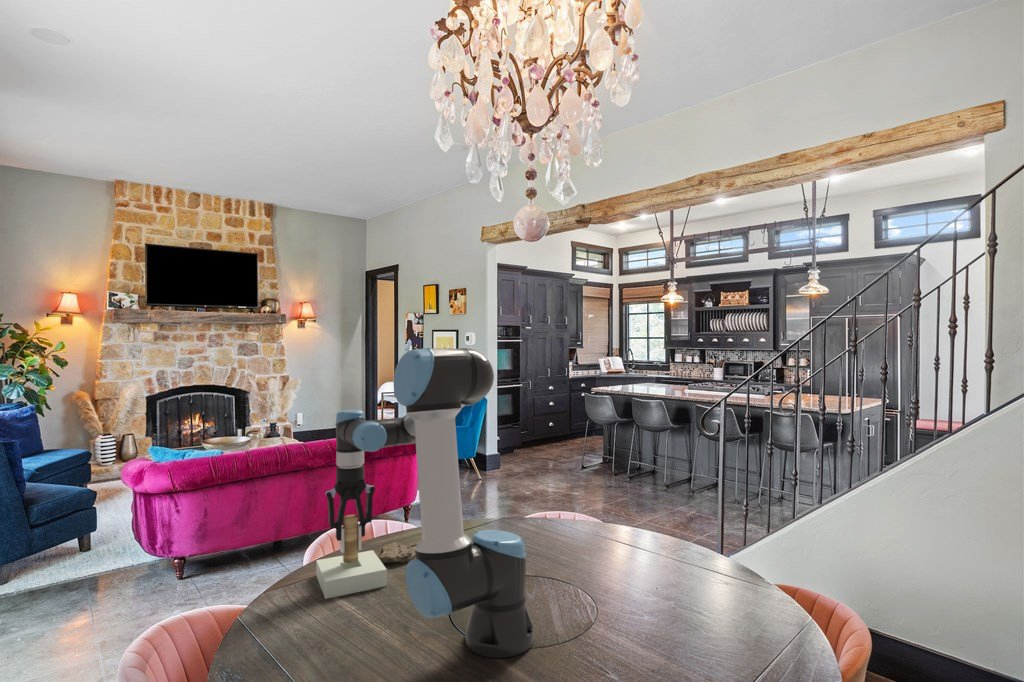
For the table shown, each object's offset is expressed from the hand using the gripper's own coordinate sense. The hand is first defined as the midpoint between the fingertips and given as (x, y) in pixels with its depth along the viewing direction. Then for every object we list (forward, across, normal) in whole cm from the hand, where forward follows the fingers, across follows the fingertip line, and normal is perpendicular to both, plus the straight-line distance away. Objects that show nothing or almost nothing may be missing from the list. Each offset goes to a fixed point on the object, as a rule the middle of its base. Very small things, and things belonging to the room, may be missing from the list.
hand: (350, 549), depth 152 cm
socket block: (+9, 0, 0) cm, 9 cm away
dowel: (+3, 0, 0) cm, 3 cm away
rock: (+9, -16, -9) cm, 20 cm away
